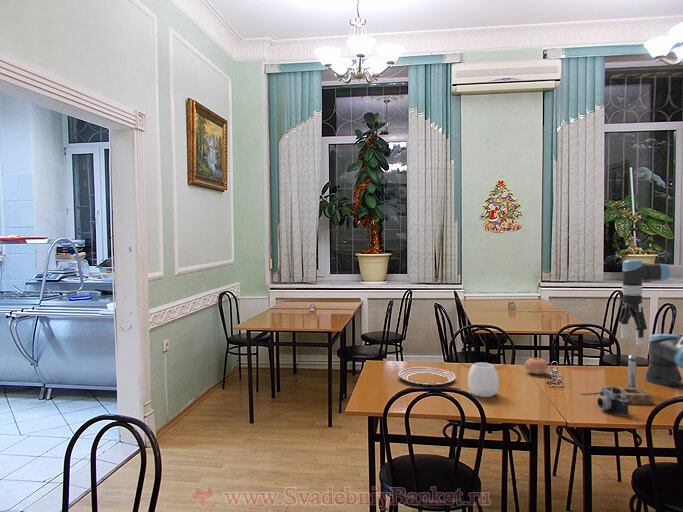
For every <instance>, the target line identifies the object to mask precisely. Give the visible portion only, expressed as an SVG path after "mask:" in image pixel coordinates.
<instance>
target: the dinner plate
mask: <svg viewBox="0 0 683 512" xmlns="http://www.w3.org/2000/svg"><path fill="white" fill-rule="evenodd" d="M417 373H431V374H437V375H440V376H443V377H446V378H447V379H448V381H447V382H445V383H437V384H428V383H418V382H413V381H409V380H408V376H410V375H412V374H417ZM398 376H399V377H400V378H401V379H402V380H404V381H405V382H408V383H411V384H414V383H415V384H414V385H419V384H422V385H421V386H428V385H432V386H440V385H445V384H448V383H451V382H453V381H454V380H456V375H455V374H454V373H453V372H452V371H448V370H445V369H441V368H437V367H428V366H426V367H425V366H414V367H408V368H403V369H402V370H400V371H399V372H398Z"/></svg>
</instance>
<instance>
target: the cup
mask: <svg viewBox="0 0 683 512" xmlns="http://www.w3.org/2000/svg"><path fill="white" fill-rule="evenodd" d="M467 376H468V377H467V386H468V389H469V392H470V393H471V394H472V395H474V396H476V397H479V396H480V398H491V397H493V396H494V395H496V394H497V393H498V390H499V384H500V383H499V382H500V381H499V375H498V372H497V370H496V368H495V366H494V364H491V363H490V362H489V363H488V362H475V363H473V364H472V365H471V367H470V369H469V371H468V375H467Z"/></svg>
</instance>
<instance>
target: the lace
mask: <svg viewBox="0 0 683 512" xmlns="http://www.w3.org/2000/svg"><path fill="white" fill-rule="evenodd" d="M596 394H597V395H599V394H600V395H601V393H600V391H599V392H588V393H587V392H586V393H580V395H581V396H584V395H585V396H586V395H587V396H588V395H596Z"/></svg>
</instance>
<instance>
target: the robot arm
mask: <svg viewBox="0 0 683 512" xmlns="http://www.w3.org/2000/svg"><path fill="white" fill-rule="evenodd" d="M621 270H622V287H621V289H622V303H621V310H620V313H619V317H618V322H619V323H620V324H621V335H620V336H621V339H629V324H630V323H629V320H630V318H631V317H632V318H633V320H634V323H635V327H636V328H635V331H636V332H635V337H636V339H635V342H636V343H635V344H636V345H637V346H644V343H645V342H644V338H645V337H644V335H645V334H644V332H645V330H647V329H648V327H647V323H646V319H645V315H644V308H643V306H639V305H641V304H642V303H643V296H642V294H643V282H649V281H650V282H651V281H653V282H654V281H655V282H661V281H673V282H674V281H675V282H683V264H681V265H680V264H678V265H677V264H666V263H653V262H652V263H648V262H643V261H642V260H640V259H625V260H624V261H623V262H622V269H621ZM648 343H649V350H648V351H649V358H648V359H649V360H648V361H649V363H648V366H647V369H646V372H645V374H644V380H645V381H646V382H648V383H651V384H655V385H659V386H660V385H661V386H667V387H680V386H682V385H683V378H682V375H681V372H680V370H679V368H680V369H683V333H680V334H679V335H678V334H674V333H671V334H670V333H654V334H650V336H649V341H648Z"/></svg>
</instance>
